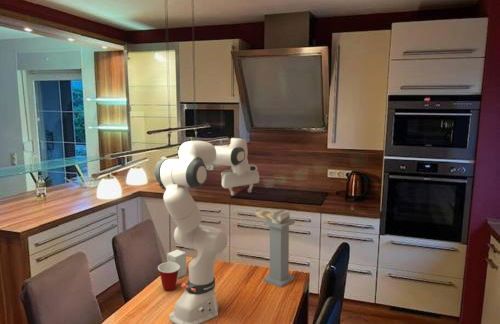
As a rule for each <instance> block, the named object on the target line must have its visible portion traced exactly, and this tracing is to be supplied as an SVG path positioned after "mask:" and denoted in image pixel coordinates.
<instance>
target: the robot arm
mask: <svg viewBox="0 0 500 324" xmlns="http://www.w3.org/2000/svg"><path fill="white" fill-rule="evenodd" d="M229 143H230V144H228V145H216V144H212V143H210V142H208V141H203V140H190V141H185V142H183V143H182V144H181V145H180V146H179V149H178V158H164V159H161V160H159V161H158V162H157V163H156V164H155V168H154V176H155V180H156V182H157V183H158V184H159V187H160V188H161V189H162V190H165V192H164V193H163V197H162V198H163V202H164V205H165V208H166V211H167V212H168V214H169V215H170V217H171V219H172V221H174V224H175V225H176V227H175V229H174V232H173V239H174V243H176V244H177V245H178V246H181V247H183V248H186V249H188V250H189V249H191V250H194V251H197V255H196V256H195V257H193V258H192V259H191V260H190V261H189V263H188V279H187V283H185V282H183V283H182V284H181V288H183V289H184V292H183V293H182V294H181V295H180V296H179V298H178V299H177V300H176V301H175V303H174V308H173V309H174V310H173V311H172V312H170V313H169V314H168V318H170V319H169V320H170V321H171V323H173V322H174V323H173V324H202V323H205V322H207V321H208V320H211V319H213V318H217V317H218V316H219V312H218V310H219V304H218V301H217V296H216V290H215V288H216V278H215V262H216V259H217V257H218V255H220V254H221V253H223V252H224V250H225V249H226V247H227V246H228V235H227V233H226V232H225V231H224V230H222V229H220V228H217V227H215V226H209V225H203V224H201V223H202V219H203V218H202V217H203V215H202V212H201V210H200V209H199V207H198V206H197V203H196V202H195V200H194V198H193V197H192V195H191V194H190V192H189V188H192V189H194V188H200V187H203V185H205V183H206V181H207V179H208V169H207V167H209V166H227V167H228V166H229V167H231V168H229V169H224V170H222V172H221V173H220V177H221V186H222V188H224V189H228V190H229V192H230V195H231V196H235V195H236V194H235V191H234V190H233V188H235V187H236V188H237V187H241V186H248V185H249V187H248V188H247V193H252V189H253V187H254V184H258V183H260V172H259V171H258V166H257V165H255V164H253V163H249V160H248V154H249V153H248V151H249V150H248V143H247V140H246V138H245V137H240V136H239V137H237V136H234V137H231V138H230V142H229Z"/></svg>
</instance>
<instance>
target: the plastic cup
mask: <svg viewBox="0 0 500 324" xmlns="http://www.w3.org/2000/svg"><path fill="white" fill-rule="evenodd" d="M179 268H180V265H179V264H177V263H174V262H163V263H160V264H159V265H158V266H157V270H158V272H159V275H160V280H161V284H162V288H163V290H165V292H173V291H175V290H176V287H177V282H178V281H177V280H178V279H177V275H178V271H179Z"/></svg>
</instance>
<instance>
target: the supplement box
mask: <svg viewBox="0 0 500 324" xmlns="http://www.w3.org/2000/svg"><path fill="white" fill-rule="evenodd" d="M166 257H167V259H166V261H167V262H174V263H177V264H179V265H180V268H179V271H178V275H177V280H178V279H180V278H182V277H184V276H186V275H187V274H188V273H187V272H188V270H187V252H185V251H182V250H180V249H175V250H172V251H170V252H168V253H166Z"/></svg>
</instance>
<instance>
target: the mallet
mask: <svg viewBox="0 0 500 324" xmlns="http://www.w3.org/2000/svg"><path fill="white" fill-rule="evenodd" d="M254 213H255V217H256V218H260V219H265V220H272V222H273V223H277V224H283V223H285V222H287V221H289V219H290V215H291V214H290V210H288V209H287V210H286V209H283V208H282V209H279V210H278V209H277V210H276V211H273V212H271V211H267V210H261V209H258V210H256V209H255V211H254Z"/></svg>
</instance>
